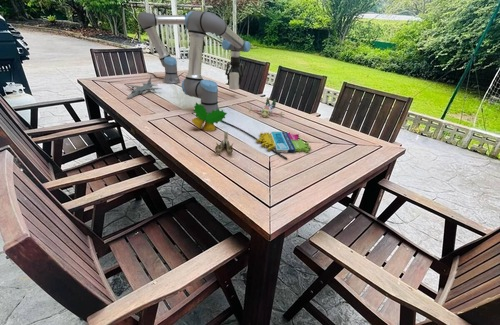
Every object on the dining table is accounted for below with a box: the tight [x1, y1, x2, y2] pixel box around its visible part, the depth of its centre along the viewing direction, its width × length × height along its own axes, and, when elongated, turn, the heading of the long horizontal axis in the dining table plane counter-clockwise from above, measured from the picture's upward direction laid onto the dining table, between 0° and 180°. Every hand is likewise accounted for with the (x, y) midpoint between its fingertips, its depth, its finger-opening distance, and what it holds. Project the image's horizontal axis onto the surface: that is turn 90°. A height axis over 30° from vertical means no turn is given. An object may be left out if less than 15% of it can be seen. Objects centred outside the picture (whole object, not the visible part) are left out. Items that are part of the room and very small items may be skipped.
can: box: [228, 71, 240, 91], centre depth 227 cm, size 9×9×13 cm
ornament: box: [191, 102, 228, 132], centre depth 162 cm, size 21×8×15 cm, turn 105°
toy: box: [247, 97, 285, 118], centre depth 199 cm, size 28×7×30 cm
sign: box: [256, 131, 312, 154], centre depth 152 cm, size 26×2×30 cm
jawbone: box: [214, 131, 234, 156], centre depth 136 cm, size 9×15×10 cm
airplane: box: [126, 75, 162, 99], centre depth 223 cm, size 38×31×10 cm
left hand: (197, 53), depth 277 cm, fingers open, 13 cm apart
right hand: (234, 84), depth 228 cm, fingers closed on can, 9 cm apart
